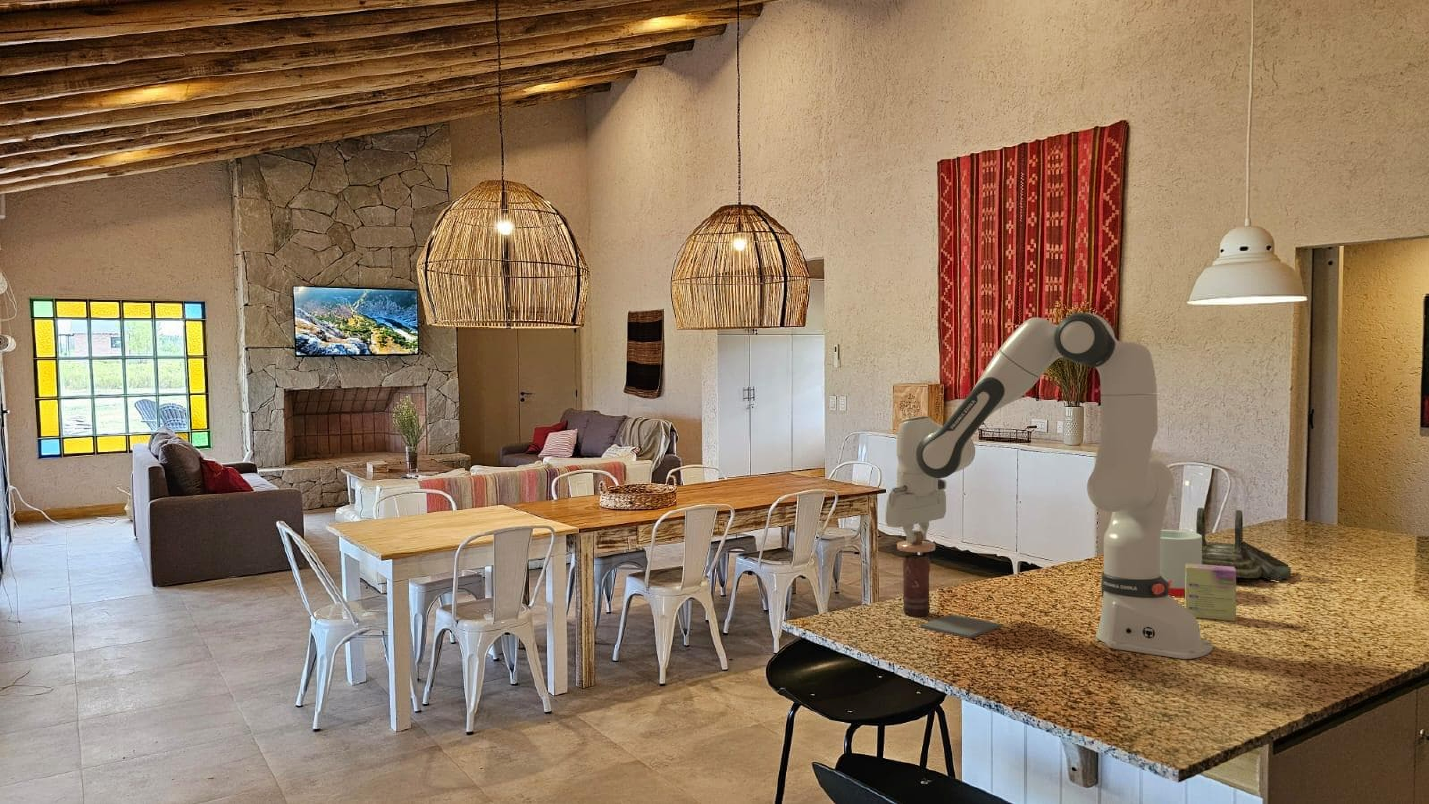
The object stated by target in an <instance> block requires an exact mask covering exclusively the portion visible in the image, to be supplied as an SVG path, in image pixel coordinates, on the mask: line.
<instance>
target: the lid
mask: <svg viewBox="0 0 1429 804" xmlns="http://www.w3.org/2000/svg"><path fill="white" fill-rule="evenodd" d="M913 533H914V535H916V542H914V543H907V541H906V540H904V541H898V542H896V549H897V550H898V551H900V552H906V553H929V552H934V551H936V543H935V542H931V541H929V540H928V541H926V540H923V541H922V531H919V530H915V529H914V530H913Z"/></svg>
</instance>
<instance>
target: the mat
mask: <svg viewBox="0 0 1429 804" xmlns="http://www.w3.org/2000/svg"><path fill="white" fill-rule="evenodd" d="M919 626H920V628H922V629H926V630H930V631H935V632H939V633H943V634H944V633H945V634H949V635H952V636H953V635H954V636H958V637H963V638H967V639H973V638H975V637H977V636H981V635H984V634H986V633H988V632H992V631H994V630H996V629H998V628H1001V627H1002V623H998V622H995V621H994V622H993V621H989V620H988V621H987V620H984V619H979V618H974V617H973V618H972V617H968V616H963V615H959V614H954V613H952V614H947V615H945V616H941V617H940V618H937V619H933V620H930V621H927V622H925V623H922V624H920V625H919Z"/></svg>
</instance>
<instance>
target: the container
mask: <svg viewBox="0 0 1429 804" xmlns="http://www.w3.org/2000/svg"><path fill="white" fill-rule="evenodd" d="M1186 563H1189V564H1202V535H1200V534H1197V533H1196V532H1194V531H1187V530H1178V529H1162V530H1161V537H1160V576H1161V577H1162V578H1163V579H1165V580H1166V581H1167V582H1168V581H1170V580H1171V581H1172V582H1171V583H1170V585H1171V586H1169V595H1170V596H1179V597H1178V598H1183V597H1182V596H1185V568H1186Z"/></svg>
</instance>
